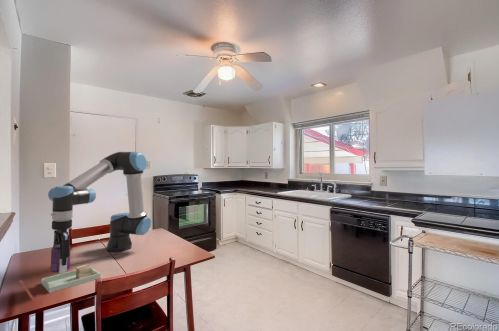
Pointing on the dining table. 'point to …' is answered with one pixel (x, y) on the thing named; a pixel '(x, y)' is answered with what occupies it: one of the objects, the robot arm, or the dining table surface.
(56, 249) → the beverage can
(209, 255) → the dining table surface
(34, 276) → the dining table surface
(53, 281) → the pale green tray
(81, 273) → the oak block
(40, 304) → the dining table surface
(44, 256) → the dining table surface
